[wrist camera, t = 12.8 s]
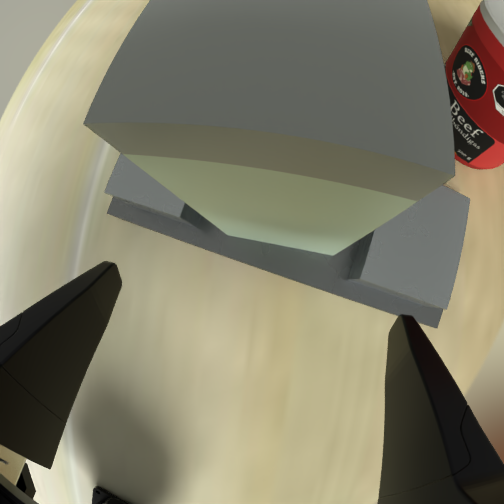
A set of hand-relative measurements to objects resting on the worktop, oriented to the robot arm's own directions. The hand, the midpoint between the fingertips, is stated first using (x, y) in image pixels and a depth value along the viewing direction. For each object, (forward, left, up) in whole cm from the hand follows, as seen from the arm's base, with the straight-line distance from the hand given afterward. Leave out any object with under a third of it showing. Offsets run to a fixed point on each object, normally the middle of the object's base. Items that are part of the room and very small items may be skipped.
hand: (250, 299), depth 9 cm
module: (+5, +1, -8) cm, 9 cm away
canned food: (+16, -10, -9) cm, 21 cm away
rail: (+5, +1, -9) cm, 10 cm away
